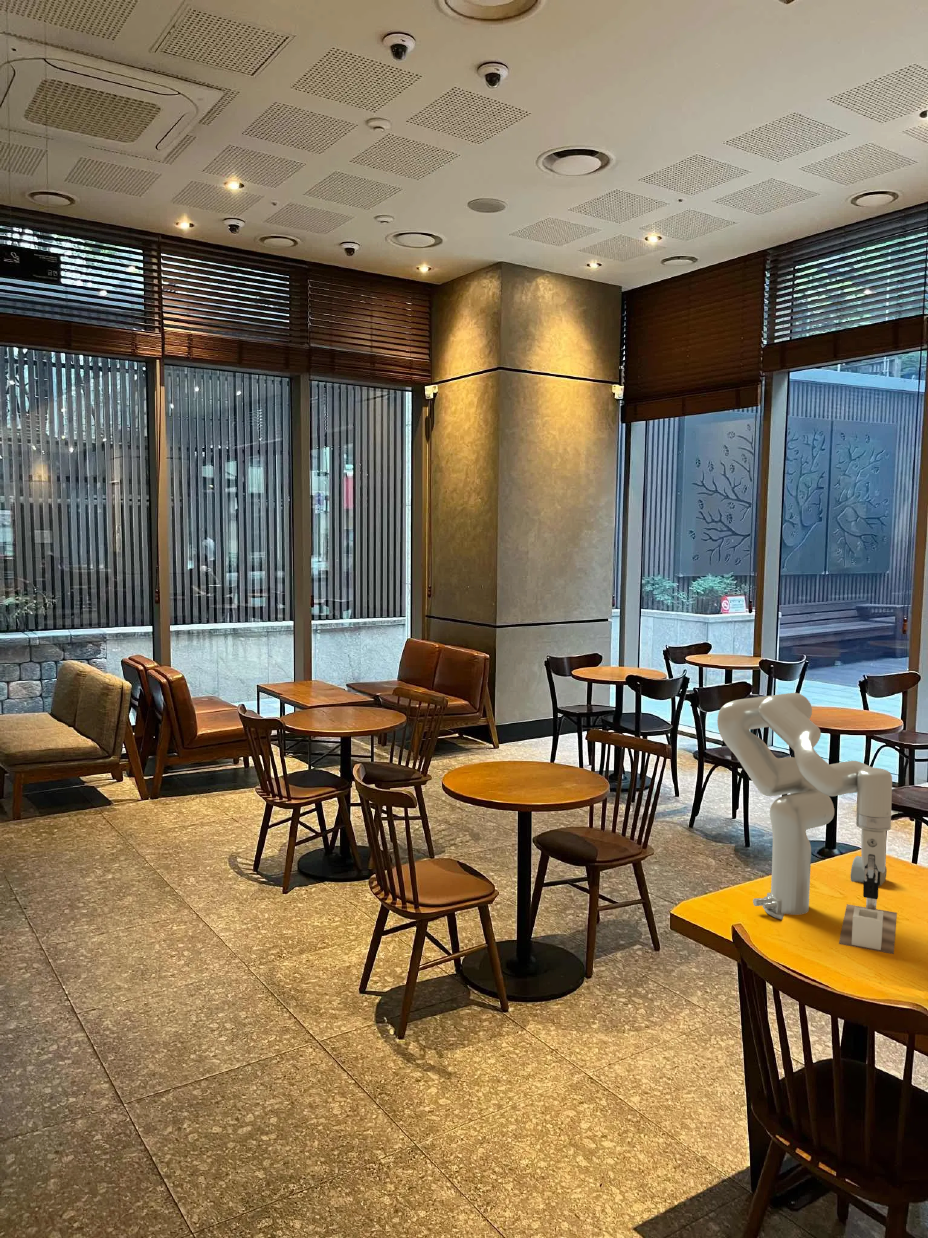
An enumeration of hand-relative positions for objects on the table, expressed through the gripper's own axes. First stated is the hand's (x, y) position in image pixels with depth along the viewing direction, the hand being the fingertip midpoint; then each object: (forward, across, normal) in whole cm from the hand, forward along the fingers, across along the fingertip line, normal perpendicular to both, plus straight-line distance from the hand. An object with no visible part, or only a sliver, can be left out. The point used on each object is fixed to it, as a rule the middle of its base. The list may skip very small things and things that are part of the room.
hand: (871, 891), depth 223 cm
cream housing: (+13, 0, +1) cm, 13 cm away
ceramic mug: (+14, +45, +3) cm, 47 cm away
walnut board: (+14, +10, +1) cm, 17 cm away
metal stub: (+13, +20, +1) cm, 23 cm away
